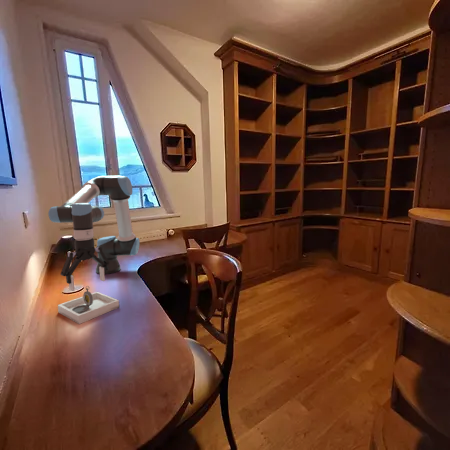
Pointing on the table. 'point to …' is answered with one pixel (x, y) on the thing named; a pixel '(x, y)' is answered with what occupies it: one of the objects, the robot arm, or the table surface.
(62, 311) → the tray
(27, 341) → the table surface
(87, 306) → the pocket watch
